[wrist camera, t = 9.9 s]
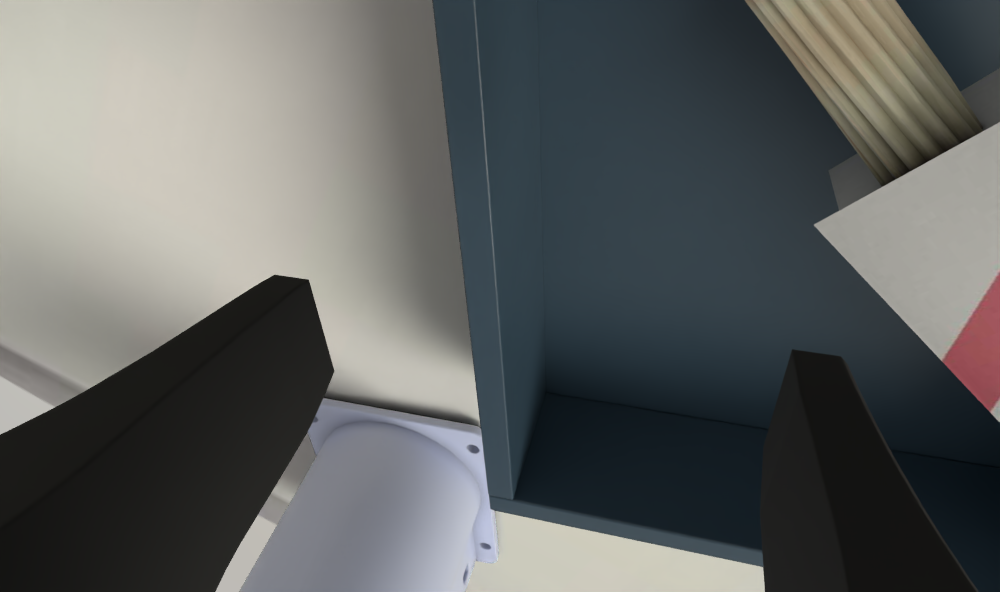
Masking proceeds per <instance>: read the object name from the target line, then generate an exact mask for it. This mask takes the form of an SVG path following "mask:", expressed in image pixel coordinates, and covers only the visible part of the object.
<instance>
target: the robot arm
mask: <svg viewBox="0 0 1000 592" xmlns="http://www.w3.org/2000/svg"><path fill="white" fill-rule="evenodd" d="M333 373H334V368H333V365H332V361H331V358H330V354H329V351H328V347H327V343H326V340H325V336H324V333H323V329H322V325H321V322H320V318H319V315H318V311H317V308H316V304H315V300H314V297H313V293H312V290H311V286H310V283H309V280H307V279H300V278H293V277H286V276H279V275H273V276H272V277H270V278H268V279H266V280H265V281H263V282H261V283H259V284H258V285H256V286H254V287H253V288H251V289H250V290H248V291H246V292H245V293H243V294H242V295H240V296H238V297H237V298H235V299H234V300H232V301H231V302H229V303H227V304H226V305H224V306H223V307H221V308H220V309H218V310H217V311H215V312H214V313H212V314H210V315H209V316H207V317H206V318H204V319H203V320H201V321H200V322H198V323H196V324H195V325H193V326H192V327H190V328H189V329H187V330H185V331H184V332H182V333H181V334H179V335H178V336H176V337H174V338H173V339H171V340H170V341H168V342H167V343H165V344H163V345H162V346H160V347H159V348H157V349H156V350H154V351H152V352H151V353H149V354H148V355H146V356H144V357H142V358H141V359H139V360H137V361H136V362H134V363H132V364H131V365H129V366H127V367H125V368H124V369H122V370H120V371H119V372H117V373H115V374H114V375H112V376H110V377H108V378H107V379H105V380H103V381H102V382H100V383H98V384H97V385H95V386H93V387H91V388H90V389H88V390H86V391H85V392H83V393H81V394H79V395H77V396H75V397H74V398H72V399H70V400H68V401H66V402H64V403H63V404H61V405H59V406H57V407H55V408H53V409H51V410H49V411H47V412H46V413H43V414H41V415H39V416H37V417H35V418H33V419H31V420H29V421H27V422H25V423H23V424H21V425H19V426H17V427H15V428H13V429H11V430H9V431H7V432H5V433H3V434H1V435H0V592H215V591H216V589H217V587H218V585H219V583H220V581H221V578H222V577H223V575H224V572H225V570H226V568H227V567H228V565H229V563H230V561H231V559H232V558H233V556H234V554H235V552H236V550H237V548H238V547H239V545H240V543H241V541H242V540H243V538H244V536H245V535H246V533H247V532H248V530H249V528H250V526H251V525H252V523H253V522H254V520H255V518H256V517H257V515H258V514H259V512H260V510H261V509H262V507H263V505H264V504H265V502H266V500H267V499H268V497H269V495H270V494H271V492H272V490H273V489H274V487H275V486H276V484H277V482H278V481H279V479H280V477H281V476H282V474H283V472H284V471H285V469H286V467H287V466H288V464H289V462H290V461H291V459H292V457H293V456H294V454H295V452H296V451H297V449H298V447H299V446H300V444H301V442H302V440H303V439H304V437H305V435H306V434H307V432H308V434H309V437H310V440H311V443H312V446H313V448H314V451H315V454H316V458H315V460H314V462H313V463H312V465H311V467H310V469H309V470H308V472H307V474H306V476H305V477H304V479H303V481H302V483H301V484H300V486H299V488H298V490H297V491H296V493H295V495H294V497H293V498H292V500H291V502H290V504H289V505H288V507H287V509H286V511H285V512H284V514H283V516H282V518H281V519H280V521H279V523H278V524H277V526H276V528H275V530H274V532H273V533H272V535H271V537H270V538H269V540H268V542H267V544H266V545H265V547H264V549H263V551H262V552H261V554H260V556H259V558H258V559H257V561H256V563H255V565H254V566H253V568H252V570H251V572H250V573H249V575H248V577H247V579H246V580H245V582H244V584H243V586H242V587H241V589H240V591H239V592H466V588H467V585H468V582H469V579H470V576H471V573H472V570H473V567H474V564H475V561H481V562H485V563H495V562H497V559H498V556H499V547H498V537H497V528H496V519H495V510H491V509H490V502H489V494H488V488H487V479H486V470H485V461H484V452H483V443H482V435H481V428H480V427H478V426H475V425H469V424H464V423H458V422H453V421H447V420H442V419H437V418H431V417H426V416H420V415H415V414H409V413H404V412H398V411H393V410H387V409H382V408H376V407H371V406H365V405H360V404H354V403H349V402H343V401H338V400H332V399H327V398H324V395H325V393H326V390H327V388H328V385H329V383H330V380H331V378H332V376H333ZM760 521H761V538H762V553H763V568H764V582H765V592H979V591H978V590H977V588H976V587H975V586H974V584H973V583H972V581H971V580H970V578H969V577H968V575H967V574H966V572H965V571H964V569H963V568H962V566H961V565H960V563H959V562H958V560H957V559H956V557H955V556H954V554H953V553H952V551H951V550H950V548H949V547H948V545H947V544H946V542H945V541H944V539H943V538H942V536H941V535H940V533H939V531H938V530H937V528H936V527H935V525H934V523H933V522H932V520H931V519H930V517H929V515H928V514H927V512H926V511H925V509H924V507H923V506H922V504H921V502H920V500H919V499H918V497H917V495H916V494H915V492H914V490H913V489H912V487H911V485H910V483H909V482H908V480H907V478H906V477H905V475H904V473H903V472H902V470H901V468H900V466H899V465H898V463H897V461H896V459H895V458H894V456H893V454H892V452H891V450H890V449H889V447H888V445H887V443H886V441H885V439H884V437H883V435H882V434H881V432H880V430H879V428H878V426H877V424H876V422H875V420H874V418H873V416H872V414H871V412H870V410H869V408H868V406H867V404H866V403H865V400H864V398H863V396H862V394H861V392H860V390H859V388H858V386H857V384H856V382H855V380H854V377H853V375H852V373H851V371H850V369H849V366H848V364H847V363H846V362H845V360H844V359H843V358H842V357H841V356H836V355H829V354H822V353H815V352H808V351H801V350H794V349H792V351H791V355H790V358H789V361H788V365H787V368H786V372H785V375H784V378H783V382H782V385H781V389H780V392H779V395H778V399H777V402H776V406H775V409H774V412H773V416H772V419H771V423H770V426H769V429H768V433H767V436H766V440H765V443H764V446H763V464H762V482H761V505H760Z"/></svg>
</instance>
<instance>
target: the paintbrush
mask: <svg viewBox="0 0 1000 592" xmlns="http://www.w3.org/2000/svg"><path fill="white" fill-rule="evenodd" d="M745 1H746V3H747V4H748V5H749V7H750V8H751V9H752V11H753V12H754V13H755V15H756V16H757V17H758V19H759V20H760V21H761V22H762V24H763V25H764V26H765V28H766V29H767V30H768V32H769V33H770V34H771V36H772V37H773V38H774V40H775V41H776V42H777V44H778V45H779V46H780V47H781V49H782V50H783V51H784V53H785V54H786V56H787V57H788V58H789V60H790V61H791V62H792V64H793V65H794V67H795V68H796V69H797V71H798V72H799V73H800V75H801V76H802V78H803V79H804V80H805V82H806V83H807V84H808V86H809V87H810V89H811V90H812V91H813V93H814V94H815V95H816V97H817V98H818V99H819V101H820V102H821V104H822V105H823V106H824V108H825V109H826V110H827V112H828V113H829V115H830V116H831V117H832V119H833V120H834V121H835V123H836V124H837V126H838V127H839V128H840V130H841V131H842V132H843V134H844V135H845V137H846V138H847V139H848V141H849V142H850V143H851V145H852V146H853V148H854V149H855V150H856V152H857V154H855V155H854V156H852V157H850V158H849V159H847V160H845V161H844V162H842V163H840V164H839V165H837V166H835V167H834V168H832V169H830V170H829V174H830V178H831V182H832V186H833V189H834V193H835V197H836V201H837V204H838V208H839V211H838V212H836V213H834V214H832V215H831V216H829V217H827V218H825V219H823V220H821V221H820V222H818V223H816V224H814V226H815V227H816V228H817V229H818V230H819V231H820V232H821V234H822V235H823V236H824V237H825V238H826V239H827V240H828V241H829V242H830V243H831V244H832V245H833V246H834V247H835V248H836V249H837V250H838V252H839V253H840V254H841V255H842V256H843V257H844V258H845V259H846V260H847V261H848V262H849V263H850V264H851V265H852V266H853V267H854V269H855V270H856V271H857V272H858V273H859V274H860V275H861V276H862V277H863V278H864V279H865V280H866V281H867V282H868V283H869V284H870V285H871V287H872V288H873V289H874V290H875V291H876V292H877V293H878V294H879V295H880V296H881V297H882V298H883V299H884V300H885V301H886V302H887V303H888V305H889V306H890V307H891V308H892V309H893V310H894V311H895V312H896V313H897V314H898V315H899V316H900V317H901V318H902V319H903V320H904V322H905V323H906V324H907V325H908V326H909V327H910V328H911V329H912V330H913V331H914V332H915V333H916V334H917V335H918V336H919V337H920V338H921V340H922V341H923V342H924V343H925V344H926V345H927V346H928V347H929V348H930V349H931V350H932V351H933V352H934V353H935V354H936V355H937V357H938V358H939V359H940V360H941V361H942V362H943V363H944V364H945V365H946V366H947V367H948V368H949V369H950V370H951V371H952V372H953V373H954V375H955V376H956V377H957V378H958V379H959V380H960V381H961V382H962V383H963V384H964V385H965V386H966V387H967V388H968V389H969V390H970V391H971V393H972V394H973V395H974V396H975V397H976V398H977V399H978V400H979V401H980V402H981V403H982V404H983V405H984V406H985V407H986V408H987V410H988V411H989V412H990V413H991V414H992V415H993V416H994V417H995V418H996V419H997V420H998V421H999V422H1000V68H999V69H997V70H996V71H994V72H992V73H991V74H989V75H987V76H986V77H984V78H982V79H981V80H979V81H977V82H976V83H974V84H972V85H971V86H969V87H967V88H966V89H964V90H962V91H961V92H960V91H959V89H958V88H957V86H956V85H955V83H954V82H953V80H952V79H951V77H950V76H949V74H948V73H947V71H946V70H945V69H944V67H943V66H942V64H941V63H940V62H939V60H938V59H937V57H936V56H935V55H934V53H933V52H932V50H931V49H930V48H929V46H928V45H927V44H926V42H925V41H924V39H923V38H922V37H921V35H920V34H919V32H918V31H917V30H916V28H915V27H914V25H913V24H912V23H911V21H910V20H909V19H908V17H907V16H906V14H905V13H904V12H903V10H902V9H901V7H900V6H899V5H898V3H897V2H896V1H895V0H745Z"/></svg>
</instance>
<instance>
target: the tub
mask: <svg viewBox="0 0 1000 592" xmlns="http://www.w3.org/2000/svg"><path fill="white" fill-rule="evenodd" d="M432 1H433V10H434V19H435V27H436V36H437V45H438V54H439V63H440V72H441V81H442V89H443V98H444V107H445V116H446V125H447V134H448V142H449V151H450V160H451V169H452V178H453V187H454V196H455V204H456V213H457V222H458V231H459V240H460V249H461V258H462V266H463V275H464V284H465V293H466V302H467V311H468V319H469V328H470V337H471V346H472V355H473V364H474V373H475V381H476V390H477V399H478V408H479V417H480V426H481V435H482V443H483V452H484V461H485V470H486V479H487V488H488V494H489V502H490V509H491V510H495V511H499V512H504V513H509V514H514V515H518V516H523V517H528V518H533V519H537V520H542V521H547V522H552V523H556V524H561V525H566V526H571V527H575V528H580V529H585V530H590V531H594V532H599V533H604V534H609V535H613V536H618V537H623V538H628V539H632V540H637V541H642V542H647V543H651V544H656V545H661V546H666V547H670V548H675V549H680V550H685V551H689V552H694V553H699V554H704V555H708V556H713V557H718V558H723V559H727V560H732V561H737V562H742V563H746V564H751V565H756V566H761V567H763V553H762V538H761V521H760V505H761V482H762V464H763V446H764V443H765V440H766V436H767V433H768V429H769V426H770V423H771V419H772V416H773V412H774V409H775V406H776V402H777V399H778V395H779V392H780V389H781V385H782V382H783V378H784V375H785V372H786V368H787V365H788V361H789V358H790V355H791V351H792V349H794V350H801V351H808V352H815V353H822V354H829V355H836V356H841V357H842V358H843V359H844V360H845V362H846V363H847V364H848V366H849V369H850V371H851V373H852V375H853V377H854V380H855V382H856V384H857V386H858V388H859V390H860V392H861V394H862V396H863V398H864V400H865V403H866V404H867V406H868V408H869V410H870V412H871V414H872V416H873V418H874V420H875V422H876V424H877V426H878V428H879V430H880V432H881V434H882V435H883V437H884V439H885V441H886V443H887V445H888V447H889V449H890V450H891V452H892V454H893V456H894V458H895V459H896V461H897V463H898V465H899V466H900V468H901V470H902V472H903V473H904V475H905V477H906V478H907V480H908V482H909V483H910V485H911V487H912V489H913V490H914V492H915V494H916V495H917V497H918V499H919V500H920V502H921V504H922V506H923V507H924V509H925V511H926V512H927V514H928V515H929V517H930V519H931V520H932V522H933V523H934V525H935V527H936V528H937V530H938V531H939V533H940V535H941V536H942V538H943V539H944V541H945V542H946V544H947V545H948V547H949V548H950V550H951V551H952V553H953V554H954V556H955V557H956V559H957V560H958V562H959V563H960V565H961V566H962V568H963V569H964V571H965V572H966V574H967V575H968V577H969V578H970V580H971V581H972V583H973V584H974V586H975V587H976V588H977V590H978V591H979V592H1000V422H999V421H998V420H997V419H996V418H995V417H994V416H993V415H992V414H991V413H990V412H989V411H988V410H987V408H986V407H985V406H984V405H983V404H982V403H981V402H980V401H979V400H978V399H977V398H976V397H975V396H974V395H973V394H972V393H971V391H970V390H969V389H968V388H967V387H966V386H965V385H964V384H963V383H962V382H961V381H960V380H959V379H958V378H957V377H956V376H955V375H954V373H953V372H952V371H951V370H950V369H949V368H948V367H947V366H946V365H945V364H944V363H943V362H942V361H941V360H940V359H939V358H938V357H937V355H936V354H935V353H934V352H933V351H932V350H931V349H930V348H929V347H928V346H927V345H926V344H925V343H924V342H923V341H922V340H921V338H920V337H919V336H918V335H917V334H916V333H915V332H914V331H913V330H912V329H911V328H910V327H909V326H908V325H907V324H906V323H905V322H904V320H903V319H902V318H901V317H900V316H899V315H898V314H897V313H896V312H895V311H894V310H893V309H892V308H891V307H890V306H889V305H888V303H887V302H886V301H885V300H884V299H883V298H882V297H881V296H880V295H879V294H878V293H877V292H876V291H875V290H874V289H873V288H872V287H871V285H870V284H869V283H868V282H867V281H866V280H865V279H864V278H863V277H862V276H861V275H860V274H859V273H858V272H857V271H856V270H855V269H854V267H853V266H852V265H851V264H850V263H849V262H848V261H847V260H846V259H845V258H844V257H843V256H842V255H841V254H840V253H839V252H838V250H837V249H836V248H835V247H834V246H833V245H832V244H831V243H830V242H829V241H828V240H827V239H826V238H825V237H824V236H823V235H822V234H821V232H820V231H819V230H818V229H817V228H816V227H815V226H814V224H816V223H818V222H820V221H821V220H823V219H825V218H827V217H829V216H831V215H832V214H834V213H836V212H838V211H839V208H838V204H837V201H836V197H835V193H834V189H833V186H832V182H831V178H830V174H829V170H830V169H832V168H834V167H835V166H837V165H839V164H840V163H842V162H844V161H845V160H847V159H849V158H850V157H852V156H854V155H855V154H857V152H856V150H855V149H854V148H853V146H852V145H851V143H850V142H849V141H848V139H847V138H846V137H845V135H844V134H843V132H842V131H841V130H840V128H839V127H838V126H837V124H836V123H835V121H834V120H833V119H832V117H831V116H830V115H829V113H828V112H827V110H826V109H825V108H824V106H823V105H822V104H821V102H820V101H819V99H818V98H817V97H816V95H815V94H814V93H813V91H812V90H811V89H810V87H809V86H808V84H807V83H806V82H805V80H804V79H803V78H802V76H801V75H800V73H799V72H798V71H797V69H796V68H795V67H794V65H793V64H792V62H791V61H790V60H789V58H788V57H787V56H786V54H785V53H784V51H783V50H782V49H781V47H780V46H779V45H778V44H777V42H776V41H775V40H774V38H773V37H772V36H771V34H770V33H769V32H768V30H767V29H766V28H765V26H764V25H763V24H762V22H761V21H760V20H759V19H758V17H757V16H756V15H755V13H754V12H753V11H752V9H751V8H750V7H749V5H748V4H747V3H746V1H745V0H432ZM895 1H896V2H897V3H898V5H899V6H900V7H901V9H902V10H903V12H904V13H905V14H906V16H907V17H908V19H909V20H910V21H911V23H912V24H913V25H914V27H915V28H916V30H917V31H918V32H919V34H920V35H921V37H922V38H923V39H924V41H925V42H926V44H927V45H928V46H929V48H930V49H931V50H932V52H933V53H934V55H935V56H936V57H937V59H938V60H939V62H940V63H941V64H942V66H943V67H944V69H945V70H946V71H947V73H948V74H949V76H950V77H951V79H952V80H953V82H954V83H955V85H956V86H957V88H958V89H959V91H960V92H961V91H962V90H964V89H966V88H967V87H969V86H971V85H972V84H974V83H976V82H977V81H979V80H981V79H982V78H984V77H986V76H987V75H989V74H991V73H992V72H994V71H996V70H997V69H999V68H1000V0H895Z"/></svg>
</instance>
